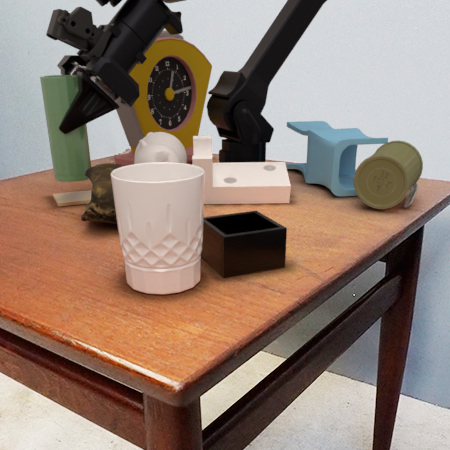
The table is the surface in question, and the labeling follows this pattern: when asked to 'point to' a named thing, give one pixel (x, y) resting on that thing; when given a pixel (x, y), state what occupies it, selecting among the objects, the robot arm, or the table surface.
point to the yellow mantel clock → (167, 94)
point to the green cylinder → (59, 142)
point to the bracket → (240, 178)
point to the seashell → (101, 194)
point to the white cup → (160, 224)
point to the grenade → (389, 175)
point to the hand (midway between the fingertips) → (56, 129)
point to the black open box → (243, 243)
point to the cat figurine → (160, 149)
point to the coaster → (72, 198)
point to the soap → (125, 151)
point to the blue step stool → (331, 155)
